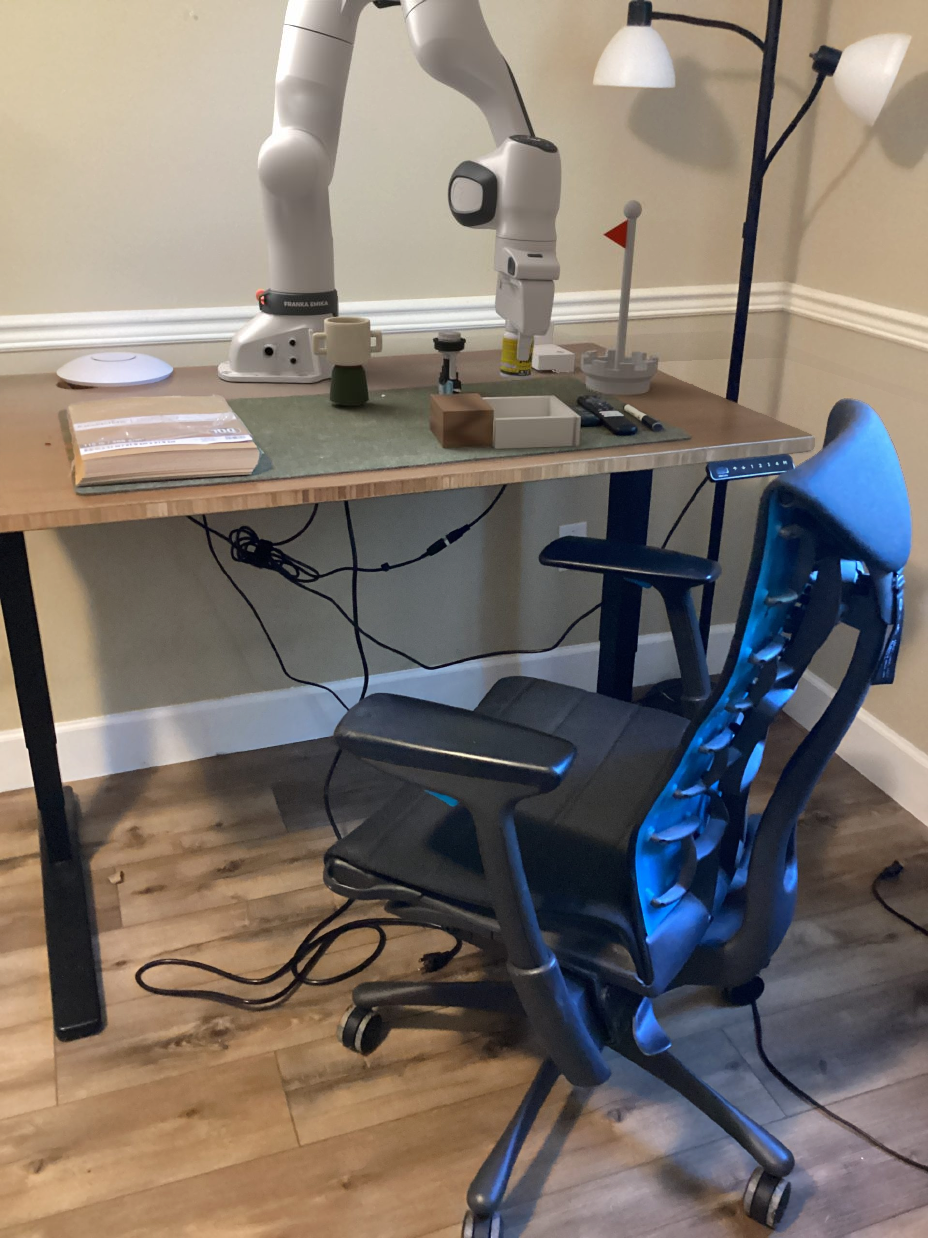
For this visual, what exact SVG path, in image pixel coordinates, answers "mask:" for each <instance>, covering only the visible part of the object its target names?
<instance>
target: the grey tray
mask: <svg viewBox="0 0 928 1238" xmlns="http://www.w3.org/2000/svg"><path fill="white" fill-rule="evenodd" d="M482 398H483V399H484V400H485V401H486V402H487V403H488V404H489V405H490V406H491V407H492V409H493V410H494V420H493V446H492V448H494V449H495V450H498V449H499V450H502V449H524V448H525V449H526V448H543V447H544V448H546V447H547V448H552V447H579V446H580V436H581V421H582V420H581V419H582V417H581V416H580V415H579V414H578V413H576V411H575V410H573V409H571V407H569V406H568V405H566V404H565V403H564V401H561V399H559V398H558V397H556V396H555V395H529V396H527V395H526V396H525V395H524V396H523V395H522V396H519V395H518V396H493V397H492V396H491V397H490V396H489V397H488V396H486V397H482Z"/></svg>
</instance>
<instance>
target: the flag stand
mask: <svg viewBox="0 0 928 1238" xmlns="http://www.w3.org/2000/svg"><path fill="white" fill-rule="evenodd" d="M622 211H623V215H624V216H625V218H626V220H624V221H622V222H621V223H619V224H618V225H616V226H615V227H613V228H611V229H609V230H607V232H604V233H603V234H602V235H603V236H605V237H606V238H608V239H609V240H611V241H612V242H614V243H616V244H617V245H618V246H620V247H622V249H623V250H624V253H623V264H622V274H621V275H622V276H621V287H620V296H619V297H620V299H619V310H618V311H619V312H618V320H617V321H618V322H617V323H618V324H617V335H616V348H607V349H606V348H605V354H604V355H598V352H599V351H598V350H595V349H593V350H587V351H585V352H584V354H580V355H581V357H580V370H581V372H582V373H584V374H585V384H586V385H587V386H588V387H590V388H592V389H594V390H597V391H599V392H602V393H601V394H606V395H613V396H614V395H615V396H616V395H617V396H632V395H641V394H646V393H647V392H649V391H650V388H651V387H650V386H651V379H652V378H653V377H654V376H656V375H657V374H658V367H659V357H658V356H657V355H654V354H653V355H649V356H648V357H649V358H648V359H647V355H648V353H647V352H645V351H639V350H632V352H631V356H626V355H625V353H626V343H627V332H628V321H629V320H628V319H629V311H630V297H631V285H632V276H633V265H634V264H633V262H634V254H635V253H634V252H635V244H636V243H635V241H636V228H637V220H638V218H639V217H640V216H641V214H642V212H643V208H642V204H641V203H640V202H639V201H638V200H635V199H632V200H628V201H627V202H625V205H624V206H623V210H622ZM585 384H584V385H585ZM599 392H598V393H599Z"/></svg>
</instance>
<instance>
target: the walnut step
mask: <svg viewBox="0 0 928 1238" xmlns="http://www.w3.org/2000/svg"><path fill="white" fill-rule="evenodd" d="M483 398H484V397H482V396H481V395H480V393H477V392H476V393H459V394H439V393H437V394H433V393H432V394H429V418H430V419H429V430H430V431H431V432H432V433H431V434H432V435H434V437H435V439H436V440H437V441H438V443H439V444H440V446H441V447H442V449H443V448H444V449H445V448H469V447H470V448H471V447H493V420H494V410H493V409H492V407H491V406H490V405H489V404H488V403H487V402H486V401H485V400H484V399H483Z"/></svg>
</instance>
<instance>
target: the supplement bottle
mask: <svg viewBox="0 0 928 1238" xmlns="http://www.w3.org/2000/svg"><path fill="white" fill-rule="evenodd" d="M506 327H507V328H506V329H507V330H508V331H507V332H506V331H505V332H504V333H503V336H502V346H501V347H502V348H501V356H500V357H501V359H500V370H499V371H500V373H499V375H500V376H501V377H503V378H505V379H510V380H516V381H517V380H518V381H519V380H521V381H522V380H524V381H525V380H528V379H530V378H531V376H532V368H533V367H532V358H533V348H534V338H533V341H532V344H531V347H530V353H529V359H528V360H527V361H519V360H518V359H517V358H516V356H515V354H516V347H517V344H518V330H517V329H516V328H515V327H514V326H512V325H511V324H510V322H509V320H507V326H506Z"/></svg>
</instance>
